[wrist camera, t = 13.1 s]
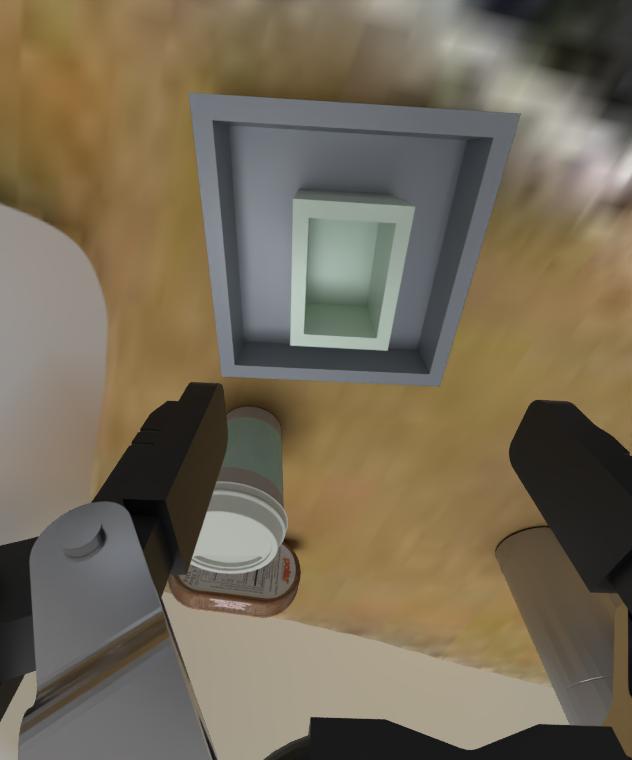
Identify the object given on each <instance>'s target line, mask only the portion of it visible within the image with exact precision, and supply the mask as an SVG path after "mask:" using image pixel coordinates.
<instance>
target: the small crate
mask: <svg viewBox="0 0 632 760" xmlns="http://www.w3.org/2000/svg"><path fill="white" fill-rule="evenodd" d="M414 211H415V206H413V205H411V204H409V203H408V202H406V201H404V200H402V199H400V198H398V197H396V196H394V195H387V194H372V193H357V192H341V191H326V190H311V189H298V191H297V193H296V194H295V196H294V198H293V223H292V277H291V332H290V346H309V347H327V348H346V349H364V350H383V351H388V346H389V341H390V336H391V331H392V325H393V320H394V315H395V310H396V305H397V299H398V294H399V289H400V284H401V279H402V273H403V268H404V263H405V258H406V253H407V248H408V242H409V237H410V232H411V227H412V222H413V216H414Z"/></svg>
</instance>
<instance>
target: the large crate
mask: <svg viewBox="0 0 632 760" xmlns="http://www.w3.org/2000/svg"><path fill="white" fill-rule="evenodd" d="M189 99H190V107H191V116H192V125H193V133H194V142H195V150H196V159H197V168H198V176H199V185H200V193H201V202H202V210H203V219H204V228H205V236H206V245H207V253H208V262H209V271H210V279H211V288H212V296H213V305H214V313H215V322H216V331H217V339H218V348H219V356H220V365H221V374H222V376H223V377H245V378H266V379H288V380H310V381H332V382H354V383H376V384H397V385H419V386H440V384H441V381H442V377H443V374H444V371H445V367H446V364H447V360H448V357H449V354H450V350H451V347H452V344H453V340H454V337H455V334H456V330H457V327H458V323H459V320H460V317H461V313H462V310H463V307H464V303H465V300H466V297H467V293H468V290H469V286H470V283H471V280H472V276H473V273H474V270H475V266H476V263H477V260H478V256H479V253H480V249H481V246H482V243H483V239H484V236H485V233H486V229H487V226H488V223H489V219H490V216H491V212H492V209H493V206H494V202H495V199H496V196H497V192H498V189H499V185H500V182H501V179H502V175H503V172H504V169H505V165H506V162H507V159H508V155H509V152H510V148H511V145H512V142H513V138H514V135H515V132H516V128H517V125H518V122H519V118H520V115H521V114H517V113H501V112H485V111H470V110H454V109H438V108H422V107H407V106H391V105H375V104H360V103H344V102H328V101H312V100H297V99H281V98H265V97H250V96H234V95H218V94H202V93H189ZM298 189H311V190H326V191H341V192H357V193H372V194H387V195H394V196H396V197H398V198H400V199H402V200H404V201H406V202H408V203H409V204H411V205H413V206H415V211H414V216H413V222H412V227H411V232H410V237H409V242H408V248H407V253H406V258H405V263H404V268H403V273H402V279H401V284H400V289H399V294H398V299H397V305H396V310H395V315H394V320H393V325H392V331H391V336H390V341H389V346H388V351H383V350H364V349H346V348H327V347H309V346H290V332H291V277H292V223H293V198H294V196H295V194H296V193H297V191H298Z"/></svg>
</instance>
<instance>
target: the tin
mask: <svg viewBox="0 0 632 760" xmlns="http://www.w3.org/2000/svg"><path fill="white" fill-rule="evenodd" d="M300 574H301V571H300V564H299V560H298V558H297V556H296V554H295V552H294V551H293V550H292V548H291V547H290V546H289V545H287V544H286V543H285V542H282V543H281V545H280V546H279V548H278V551H277V554H276V555H275V557H274V559H273V560H272V561H271V562H270V563H268V564H267V565H265V566H264V567H262V568H260V569H257V570H254V571H251V572H246V573H237V574H226V573H217V572H211V571H207V570H204V569H201V568H198V567H196V566H193V565H191V564H190V566H189V569H188V572H187V575H172V574H170V575H169V577H168V582H169V588H170V590H171V593H172V594H173V596H174V597H175V598H176V600H177V601H178V602H180V603H181V604H182V605H184V606H186V607H189V608H192V609H198V610H206V611H214V612H222V613H231V614H238V615H245V616H253V617H260V618H266V617H272V616H275V615H277V614H279V613H281V612H283V611H284V610H285V609H287V608H288V607H289V605H290V604H291V603H292V602H293V600H294V598H295V596H296V593H297V589H298V585H299V581H300Z"/></svg>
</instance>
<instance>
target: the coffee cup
mask: <svg viewBox="0 0 632 760" xmlns="http://www.w3.org/2000/svg"><path fill="white" fill-rule="evenodd" d="M226 416H227V425H228V444H227V450H226V454H225V457H224V460H223V463H222V466H221V469H220V472H219V476H218V479H217V482H216V485H215V488H214V491H213V494H212V497H211V501H210V504H209V507H208V510H207V513H206V516H205V519H204V522H203V526H202V529H201V532H200V535H199V538H198V541H197V544H196V547H195V550H194V554H193V557H192V560H191V563H190V564H191V565H193V566H196V567H198V568H201V569H204V570H207V571H211V572H217V573H226V574H237V573H246V572H251V571H254V570H257V569H260V568H262V567H264V566H265V565H267V564H268V563H270V562H271V561H272V560H273V559H274V557H275V555H276V554H277V551H278V548H279V546H280V545H281V543H282V542H283V540H284V538H285V534H286V530H287V527H288V519H287V515H286V513H285V511H284V505H283V468H282V437H281V426H280V424H279V422H278V420H277V419H276V418H275V417H274V416H273V415H272V414H271V413H269V412H268V411H266V410H263V409H261V408H257V407H240V408H237V409H234V410H232V411H231V412H229V413H228V414H227V415H226Z"/></svg>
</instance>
